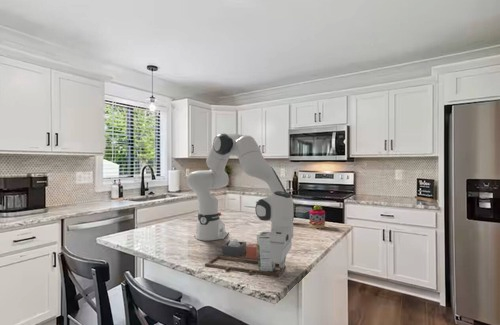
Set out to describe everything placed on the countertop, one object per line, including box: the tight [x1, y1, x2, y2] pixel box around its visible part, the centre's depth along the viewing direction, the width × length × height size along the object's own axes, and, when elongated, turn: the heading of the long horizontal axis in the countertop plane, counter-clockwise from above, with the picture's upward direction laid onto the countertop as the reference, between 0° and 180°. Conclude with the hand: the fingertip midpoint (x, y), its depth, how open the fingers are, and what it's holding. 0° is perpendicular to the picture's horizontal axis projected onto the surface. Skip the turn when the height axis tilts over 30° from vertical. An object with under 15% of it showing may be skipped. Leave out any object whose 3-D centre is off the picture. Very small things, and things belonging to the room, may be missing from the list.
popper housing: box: [221, 240, 247, 258], centre depth 136 cm, size 9×9×4 cm
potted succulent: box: [308, 205, 326, 229], centre depth 189 cm, size 10×11×15 cm
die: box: [245, 243, 258, 259], centre depth 132 cm, size 5×5×6 cm
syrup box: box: [256, 231, 276, 272], centre depth 116 cm, size 6×6×14 cm
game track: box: [204, 255, 286, 278], centre depth 119 cm, size 15×32×1 cm, turn 70°
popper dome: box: [228, 238, 240, 247], centre depth 136 cm, size 6×6×5 cm
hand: (282, 266), depth 114 cm, fingers closed
